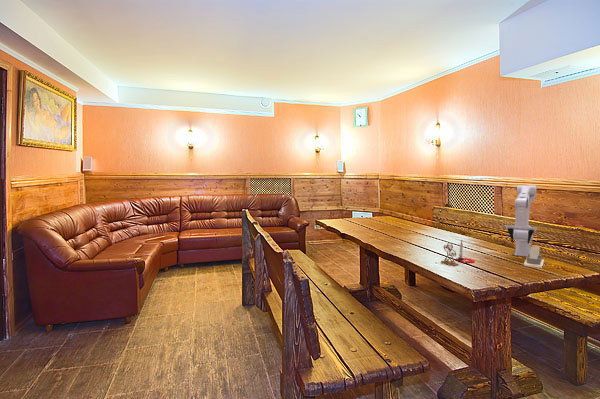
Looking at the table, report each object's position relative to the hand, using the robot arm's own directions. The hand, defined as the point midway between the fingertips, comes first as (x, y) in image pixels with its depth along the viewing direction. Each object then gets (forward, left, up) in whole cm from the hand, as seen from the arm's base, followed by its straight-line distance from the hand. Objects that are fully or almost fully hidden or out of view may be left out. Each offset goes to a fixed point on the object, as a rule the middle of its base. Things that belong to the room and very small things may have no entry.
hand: (520, 242), depth 187 cm
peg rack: (+3, +7, -10) cm, 13 cm away
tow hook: (+19, -24, -11) cm, 33 cm away
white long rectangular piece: (+3, +7, -6) cm, 10 cm away
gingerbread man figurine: (+30, -30, -11) cm, 44 cm away
